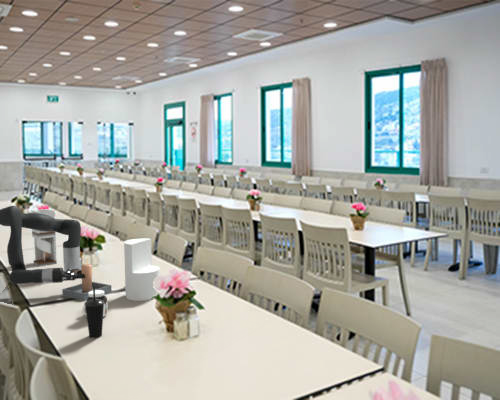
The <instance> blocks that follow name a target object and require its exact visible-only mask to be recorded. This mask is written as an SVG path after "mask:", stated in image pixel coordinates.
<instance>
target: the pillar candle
mask: <svg viewBox="0 0 500 400" xmlns="http://www.w3.org/2000/svg"><path fill="white" fill-rule="evenodd" d="M81 267H82V274H85V278H82V279H81V284H82V293H87V292H90V291H92V282H93V266H92V264H90V263H86V264H85V263H84V264H82V266H81Z"/></svg>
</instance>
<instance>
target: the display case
mask: <svg viewBox="0 0 500 400" xmlns="http://www.w3.org/2000/svg"><path fill="white" fill-rule="evenodd" d="M30 213H40V214H45V215H49V216H51V217H52V218H55V210H53V209H50V208H42V209H32V210H30ZM55 219H56V218H55ZM31 234H32V235H31V236H32V238H34V239H33V240H34V242H33V243H34V259H33V264H34V265H35V266H38V267H45V266H46V265H47V266H52V265H57V263H58V261H57V242H56V241H57V240H56V239H57V237H56V232H54V231H39V230H34V229H31Z"/></svg>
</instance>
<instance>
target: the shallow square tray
mask: <svg viewBox="0 0 500 400" xmlns="http://www.w3.org/2000/svg"><path fill="white" fill-rule="evenodd" d="M93 287H95V290H103V291H104V295H106V294H108V293H112V284H106V283H101V282H97V281H92V291H93ZM61 291H62V292H61V293H62V297H64V298H65V297H66V298H70V299H74V300H79V301H85V302H86V301H87V299H88V297H89V296H88V292H87V293H82V283H79V284H76V285H73V286H70V287H69V286H68V287H66V288H62V290H61Z"/></svg>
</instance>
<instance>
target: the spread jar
mask: <svg viewBox="0 0 500 400" xmlns="http://www.w3.org/2000/svg"><path fill="white" fill-rule="evenodd" d="M88 296H89V297H88V299H87V300H85V302H87V301H89V300H92V299H93V291H90V292H88ZM95 299H100V300H103V301H104V302H105V303H104V309H103V320H104V319H105V318H106V316H107V314H108V309H109V308H108V307H109V306H108V305H109V304H108V303H109V302H108V298H107V295H106V294H104V291H103V290H95ZM82 312H83V313H84V314H85V316H86V317H87V315H86V308H85V305H84V304H83V307H82Z"/></svg>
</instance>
